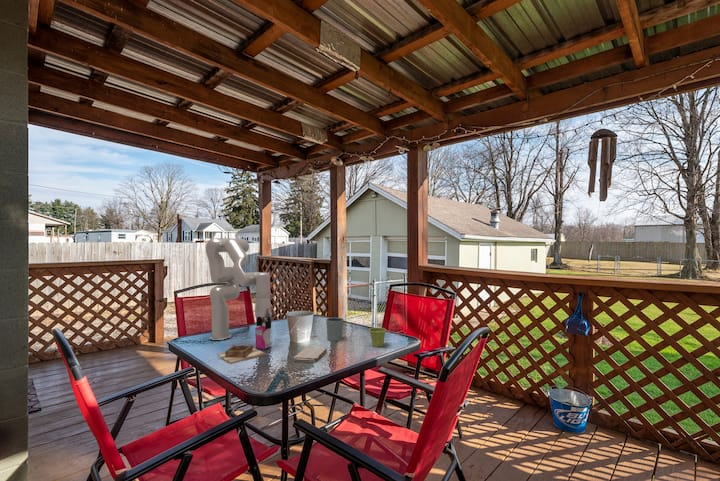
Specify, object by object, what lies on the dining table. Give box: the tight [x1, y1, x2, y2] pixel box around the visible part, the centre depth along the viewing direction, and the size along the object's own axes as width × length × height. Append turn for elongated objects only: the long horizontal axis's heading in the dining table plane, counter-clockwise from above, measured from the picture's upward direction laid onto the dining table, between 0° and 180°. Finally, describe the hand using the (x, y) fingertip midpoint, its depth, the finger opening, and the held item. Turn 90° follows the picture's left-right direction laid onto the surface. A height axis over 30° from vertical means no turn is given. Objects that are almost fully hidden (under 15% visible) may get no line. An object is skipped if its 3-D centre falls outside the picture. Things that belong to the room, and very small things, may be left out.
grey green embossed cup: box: [326, 316, 345, 343], centre depth 199 cm, size 10×10×12 cm
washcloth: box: [292, 347, 328, 364], centre depth 168 cm, size 12×18×3 cm, turn 168°
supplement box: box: [254, 325, 272, 351], centre depth 183 cm, size 6×6×12 cm
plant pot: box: [368, 327, 387, 348], centre depth 186 cm, size 9×9×9 cm
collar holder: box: [216, 344, 266, 365], centre depth 171 cm, size 16×18×4 cm
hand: (263, 327), depth 183 cm, fingers open, 9 cm apart
